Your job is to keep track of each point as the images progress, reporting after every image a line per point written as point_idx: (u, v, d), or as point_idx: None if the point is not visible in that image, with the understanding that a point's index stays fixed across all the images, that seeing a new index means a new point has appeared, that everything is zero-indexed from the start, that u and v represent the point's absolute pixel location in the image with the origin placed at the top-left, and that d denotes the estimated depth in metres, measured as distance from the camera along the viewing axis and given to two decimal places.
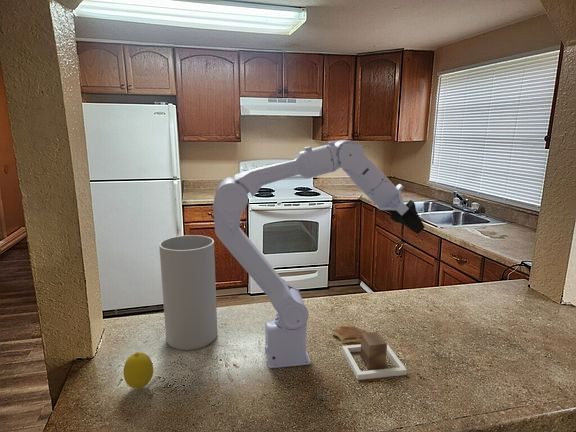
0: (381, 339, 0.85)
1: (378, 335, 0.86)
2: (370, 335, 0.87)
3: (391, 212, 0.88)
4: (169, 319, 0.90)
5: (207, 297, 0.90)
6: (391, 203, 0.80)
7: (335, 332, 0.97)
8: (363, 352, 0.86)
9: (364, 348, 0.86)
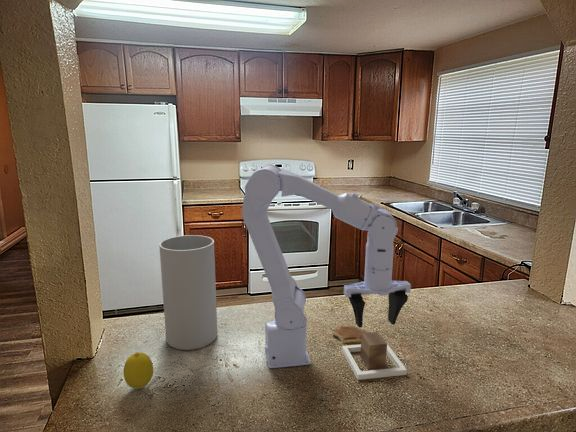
0: (381, 339, 0.85)
1: (378, 335, 0.86)
2: (370, 335, 0.87)
3: (389, 302, 0.85)
4: (169, 319, 0.90)
5: (207, 297, 0.90)
6: (362, 286, 0.82)
7: (335, 332, 0.97)
8: (363, 352, 0.86)
9: (364, 348, 0.86)
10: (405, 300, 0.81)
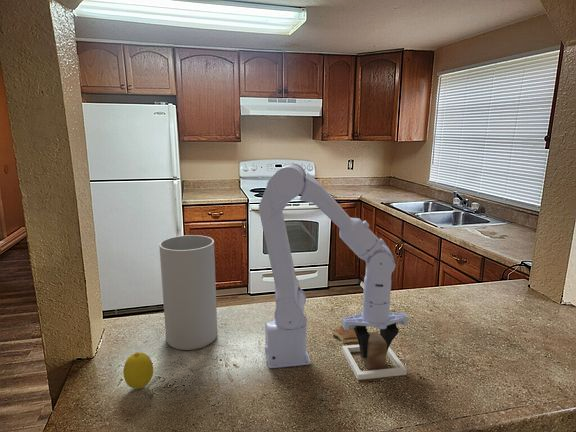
0: (381, 339, 0.85)
1: (378, 335, 0.86)
2: (370, 335, 0.87)
3: (380, 334, 0.87)
4: (169, 319, 0.90)
5: (207, 297, 0.90)
6: (360, 318, 0.84)
7: (335, 332, 0.97)
8: None
9: None
10: (396, 333, 0.83)
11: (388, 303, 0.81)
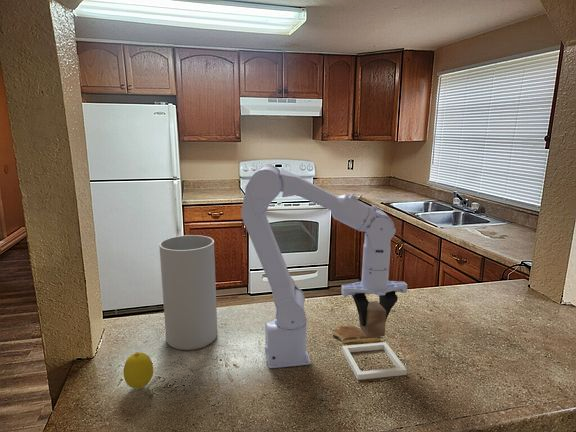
0: (380, 307, 0.85)
1: (377, 304, 0.86)
2: (369, 303, 0.86)
3: (380, 302, 0.87)
4: (169, 319, 0.90)
5: (207, 297, 0.90)
6: (360, 286, 0.84)
7: (335, 332, 0.97)
8: None
9: None
10: (395, 301, 0.83)
11: (387, 270, 0.81)
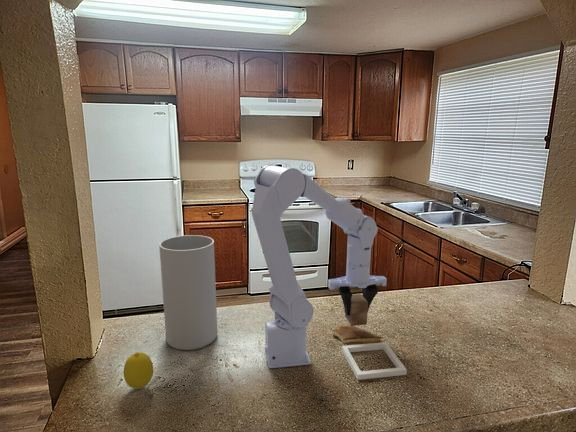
0: (363, 299, 0.95)
1: (361, 296, 0.97)
2: (353, 296, 0.97)
3: (363, 295, 0.97)
4: (169, 319, 0.90)
5: (207, 297, 0.90)
6: (344, 280, 0.95)
7: (335, 332, 0.97)
8: None
9: None
10: (375, 293, 0.93)
11: (368, 265, 0.92)
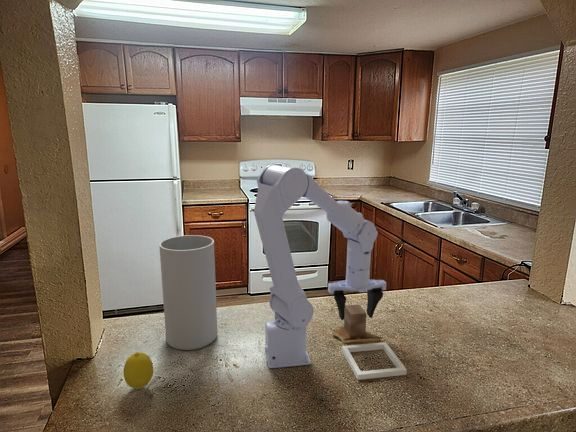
0: (362, 310, 0.96)
1: (359, 307, 0.97)
2: (352, 306, 0.98)
3: (368, 298, 0.98)
4: (169, 319, 0.90)
5: (207, 297, 0.90)
6: (344, 284, 0.95)
7: (335, 333, 0.97)
8: (346, 322, 0.97)
9: (346, 318, 0.97)
10: (380, 296, 0.94)
11: (368, 270, 0.92)
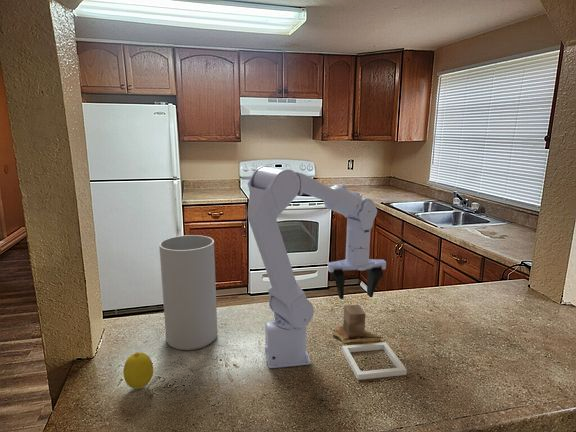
0: (361, 310, 0.95)
1: (359, 307, 0.97)
2: (352, 307, 0.97)
3: (368, 278, 0.98)
4: (169, 319, 0.90)
5: (207, 297, 0.90)
6: (344, 263, 0.95)
7: (335, 332, 0.97)
8: (345, 322, 0.97)
9: (345, 318, 0.97)
10: (380, 275, 0.94)
11: (368, 248, 0.92)
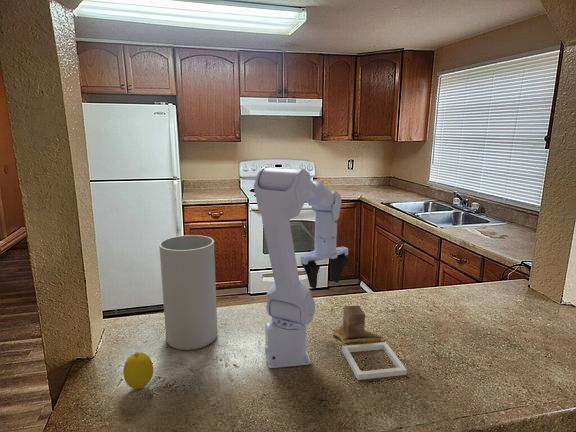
0: (360, 311, 0.95)
1: (358, 308, 0.97)
2: (351, 307, 0.97)
3: (332, 265, 1.06)
4: (169, 319, 0.90)
5: (207, 297, 0.90)
6: None
7: (335, 332, 0.97)
8: (345, 322, 0.97)
9: (345, 319, 0.96)
10: (346, 261, 1.03)
11: (336, 237, 1.00)
